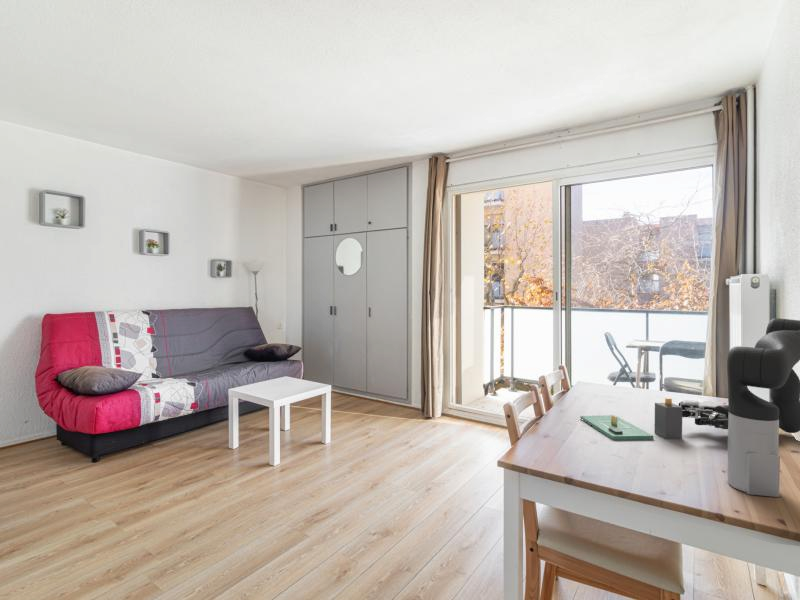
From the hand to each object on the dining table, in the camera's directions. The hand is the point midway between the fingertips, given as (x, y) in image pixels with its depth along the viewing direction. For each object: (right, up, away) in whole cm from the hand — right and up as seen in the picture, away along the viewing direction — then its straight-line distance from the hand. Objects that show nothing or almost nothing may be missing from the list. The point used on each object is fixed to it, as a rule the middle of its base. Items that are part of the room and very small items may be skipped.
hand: (686, 417), depth 137 cm
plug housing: (-6, -6, 0) cm, 8 cm away
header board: (-20, -6, +7) cm, 22 cm away
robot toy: (+24, -6, +26) cm, 36 cm away
